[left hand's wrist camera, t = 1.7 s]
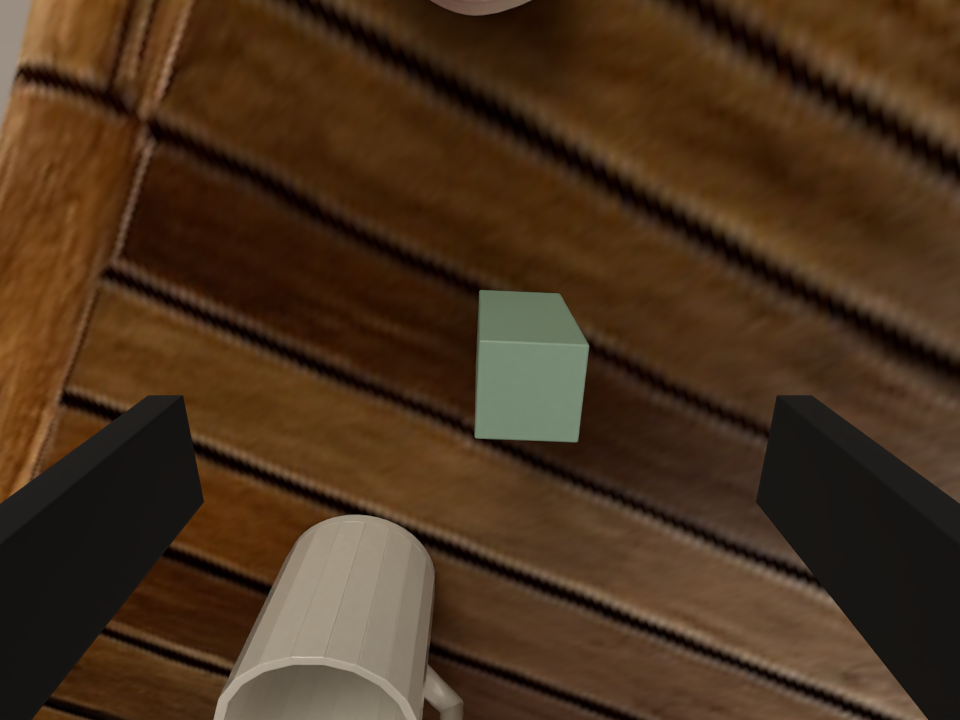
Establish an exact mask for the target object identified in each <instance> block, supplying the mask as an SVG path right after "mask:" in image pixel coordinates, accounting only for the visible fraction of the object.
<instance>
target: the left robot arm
mask: <svg viewBox="0 0 960 720" xmlns="http://www.w3.org/2000/svg"><path fill="white" fill-rule="evenodd" d="M203 502H204V500H203V495H202V490H201V485H200V480H199V474H198V469H197V464H196V459H195V454H194V449H193V444H192V439H191V434H190V429H189V424H188V419H187V413H186V408H185V403H184V398H183V395H148V396H147V397H146V398H144V399H143V400H141V401H140V402H139V403H137V404H136V405H135V406H133V407H132V408H131V409H129V410H128V411H126V412H125V413H124V414H122V415H121V416H120V417H118V418H117V419H115V420H114V421H113V422H111V423H110V424H109V425H107V426H106V427H105V428H103V429H102V430H100V431H99V432H98V433H96V434H95V435H94V436H92V437H91V438H90V439H88V440H87V441H85V442H84V443H83V444H81V445H80V446H79V447H77V448H76V449H74V450H73V451H72V452H70V453H69V454H68V455H66V456H65V457H64V458H62V459H61V460H59V461H58V462H57V463H55V464H54V465H53V466H51V467H50V468H49V469H47V470H46V471H44V472H43V473H42V474H40V475H39V476H38V477H36V478H35V479H33V480H32V481H31V482H29V483H28V484H27V485H25V486H24V487H23V488H21V489H20V490H18V491H17V492H16V493H14V494H13V495H12V496H10V497H9V498H8V499H6V500H5V501H3V502H2V503H1V504H0V720H32V719H33V717H34V716H35V715H36V714H37V712H38V711H39V710H40V709H41V707H42V706H43V705H44V703H45V702H46V701H47V700H48V698H49V697H50V696H51V695H52V693H53V692H54V691H55V690H56V688H57V687H58V686H59V684H60V683H61V682H62V681H63V679H64V678H65V677H66V676H67V674H68V673H69V672H70V671H71V669H72V668H73V667H74V666H75V664H76V663H77V662H78V660H79V659H80V658H81V657H82V655H83V654H84V653H85V652H86V650H87V649H88V648H89V647H90V645H91V644H92V643H93V641H94V640H95V639H96V638H97V636H98V635H99V634H100V633H101V631H102V630H103V629H104V628H105V626H106V625H107V624H108V623H109V621H110V620H111V619H112V617H113V616H114V615H115V614H116V612H117V611H118V610H119V609H120V607H121V606H122V605H123V604H124V602H125V601H126V600H127V599H128V597H129V596H130V595H131V593H132V592H133V591H134V590H135V588H136V587H137V586H138V585H139V583H140V582H141V581H142V580H143V578H144V577H145V576H146V574H147V573H148V572H149V571H150V569H151V568H152V567H153V566H154V564H155V563H156V562H157V561H158V559H159V558H160V557H161V556H162V554H163V553H164V552H165V550H166V549H167V548H168V547H169V545H170V544H171V543H172V542H173V540H174V539H175V538H176V537H177V535H178V534H179V533H180V532H181V530H182V529H183V528H184V526H185V525H186V524H187V523H188V521H189V520H190V519H191V518H192V516H193V515H194V514H195V513H196V511H197V510H198V509H199V507H200V506H201V505H202V504H203ZM756 502H757V504H758V505H759V506H760V507H761V509H762V510H763V511H764V513H765V514H766V515H767V516H768V518H769V519H770V520H771V521H772V523H773V524H774V525H775V526H776V528H777V529H778V530H779V532H780V533H781V534H782V535H783V537H784V538H785V539H786V540H787V542H788V543H789V544H790V545H791V547H792V548H793V549H794V550H795V552H796V553H797V554H798V556H799V557H800V558H801V559H802V561H803V562H804V563H805V564H806V566H807V567H808V568H809V569H810V571H811V572H812V573H813V574H814V576H815V577H816V578H817V580H818V581H819V582H820V583H821V585H822V586H823V587H824V588H825V590H826V591H827V592H828V593H829V595H830V596H831V597H832V599H833V600H834V601H835V602H836V604H837V605H838V606H839V607H840V609H841V610H842V611H843V612H844V614H845V615H846V616H847V617H848V619H849V620H850V621H851V623H852V624H853V625H854V626H855V628H856V629H857V630H858V631H859V633H860V634H861V635H862V636H863V638H864V639H865V640H866V641H867V643H868V644H869V645H870V647H871V648H872V649H873V650H874V652H875V653H876V654H877V655H878V657H879V658H880V659H881V660H882V662H883V663H884V664H885V666H886V667H887V668H888V669H889V671H890V672H891V673H892V674H893V676H894V677H895V678H896V679H897V681H898V682H899V683H900V684H901V686H902V687H903V688H904V690H905V691H906V692H907V693H908V695H909V696H910V697H911V698H912V700H913V701H914V702H915V703H916V705H917V706H918V707H919V709H920V710H921V711H922V712H923V714H924V715H925V716H926V717H927V719H928V720H960V504H959V503H958V502H957V501H955V500H954V499H952V498H951V497H950V496H948V495H947V494H946V493H944V492H943V491H942V490H940V489H939V488H937V487H936V486H935V485H933V484H932V483H931V482H929V481H928V480H927V479H925V478H924V477H922V476H921V475H920V474H918V473H917V472H916V471H914V470H913V469H911V468H910V467H909V466H907V465H906V464H905V463H903V462H902V461H901V460H899V459H898V458H896V457H895V456H894V455H892V454H891V453H890V452H888V451H887V450H886V449H884V448H883V447H881V446H880V445H879V444H877V443H876V442H875V441H873V440H872V439H870V438H869V437H868V436H866V435H865V434H864V433H862V432H861V431H860V430H858V429H857V428H855V427H854V426H853V425H851V424H850V423H849V422H847V421H846V420H845V419H843V418H842V417H840V416H839V415H838V414H836V413H835V412H834V411H832V410H831V409H829V408H828V407H827V406H825V405H824V404H823V403H821V402H820V401H819V400H817V399H816V398H814V397H813V396H812V395H777V398H776V403H775V408H774V413H773V419H772V424H771V429H770V434H769V439H768V444H767V449H766V454H765V459H764V464H763V469H762V474H761V480H760V485H759V490H758V495H757V500H756Z"/></svg>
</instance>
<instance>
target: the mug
mask: <svg viewBox="0 0 960 720" xmlns="http://www.w3.org/2000/svg"><path fill="white" fill-rule="evenodd" d="M434 597H435V571H434V566H433V563H432V560H431V558H430V556H429V554H428V552H427V551H426V549H425V548H424V546H423V545H422V544H421V543H420V541H419V540H418V539H417V538H416V537H415V536H413V535H412V534H411V533H410V532H408V531H407V530H406V529H404V528H402V527H400V526H399V525H397V524H395V523H392V522H390V521H388V520H385V519H381V518H378V517H373V516H367V515H345V516H338V517H334V518H330V519H327V520H325V521H322V522H320V523H318V524H316V525H314V526H313V527H311V528H310V529H308V530H307V531H306V532H304V533H303V534H302V535H301V536H300V537H299V538H298V540H297V541H296V542H295V544H294V545H293V547H292V549H291V551H290V553H289V554H288V556H287V557H286V559H285V561H284V563H283V566H282V568H281V570H280V572H279V574H278V576H277V578H276V580H275V582H274V584H273V586H272V589H271V591H270V593H269V595H268V597H267V599H266V601H265V603H264V605H263V607H262V609H261V611H260V614H259V616H258V618H257V620H256V622H255V624H254V626H253V628H252V630H251V632H250V634H249V637H248V639H247V641H246V643H245V645H244V647H243V649H242V651H241V653H240V655H239V657H238V660H237V662H236V664H235V666H234V668H233V670H232V672H231V674H230V676H229V678H228V680H227V682H226V685H225V687H224V689H223V691H222V693H221V695H220V697H219V699H218V703H217V707H216V712H215V716H214V720H422V714H423V704H424V698H425V699H426V700H427V701H428V702H429V703H430V704H431V705H432V706H433V707H434V708H435V709H436V710H437V711H438V712H439V713H440V716H439V720H463V714H464V704H463V701H462V699H461V697H460V696H459V695H458V694H457V693H456V692H455V691H454V690H453V689H452V688H451V687H450V686H449V685H448V684H447V683H446V682H445V681H444V680H443V679H442V678H441V677H440V676H439V675H438V674H437V673H436V672H435V671H434V670H433V669H432V668H431V667H430V666H429V665H428V656H429V646H430V636H431V626H432V617H433V607H434Z"/></svg>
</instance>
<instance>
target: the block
mask: <svg viewBox="0 0 960 720" xmlns="http://www.w3.org/2000/svg"><path fill="white" fill-rule="evenodd" d="M588 351H589V345H588V343H587V341H586V339H585V338H584V336H583V334H582V332H581V330H580V329H579V327H578V325H577V323H576V322H575V320H574V318H573V316H572V314H571V313H570V311H569V309H568V307H567V306H566V304H565V302H564V300H563V298H562V297H561V295H560V294H558V293H534V292H511V291H488V290H480V291H479V310H478V333H477V355H476V393H475V438H480V439H505V440H530V441H556V442H578V437H579V429H580V420H581V412H582V403H583V394H584V386H585V377H586V369H587V360H588Z"/></svg>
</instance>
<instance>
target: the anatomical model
mask: <svg viewBox="0 0 960 720" xmlns="http://www.w3.org/2000/svg"><path fill="white" fill-rule="evenodd" d="M431 1H432V2H434V3H436V4H438V5H439V6H441V7H443V8H446V9H448V10H451V11H453V12H457V13H461V14H465V15H487V14H493V13H498V12H502V11H505V10H508V9H511V8H514V7H517V6H520V5H522V4H524V3H527V2H529V1H531V0H431Z"/></svg>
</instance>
